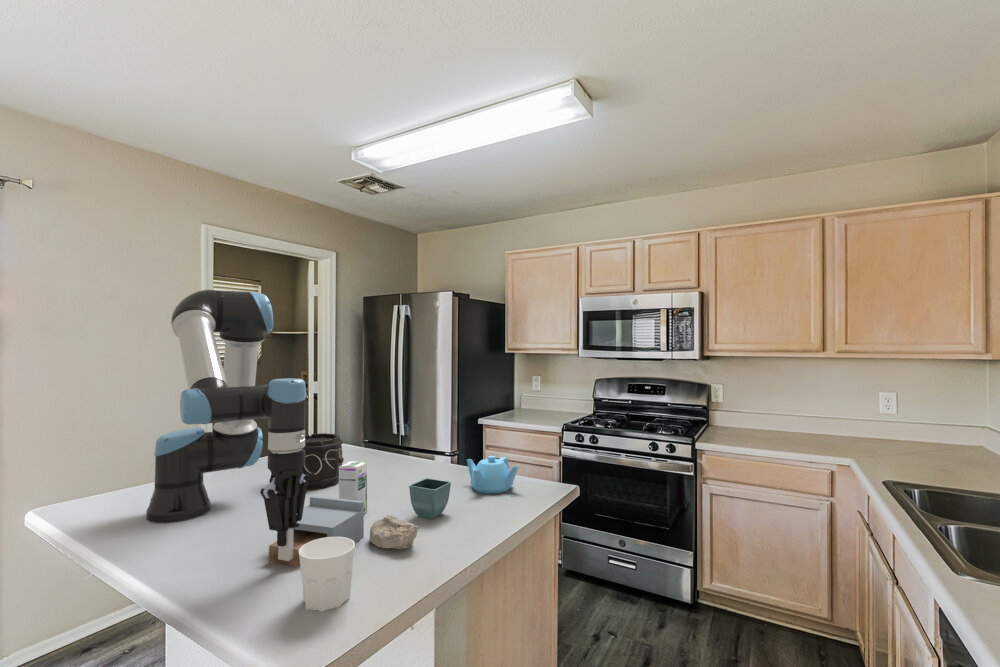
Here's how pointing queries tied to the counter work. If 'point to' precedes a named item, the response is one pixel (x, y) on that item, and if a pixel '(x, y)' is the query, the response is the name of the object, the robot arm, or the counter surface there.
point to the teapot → (491, 475)
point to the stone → (393, 533)
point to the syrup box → (353, 482)
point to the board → (294, 547)
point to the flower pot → (429, 497)
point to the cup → (326, 572)
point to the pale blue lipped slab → (334, 517)
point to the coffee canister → (322, 460)
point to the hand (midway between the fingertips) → (285, 558)
